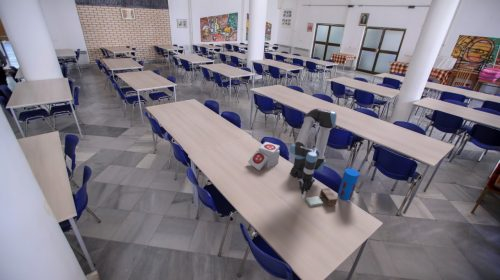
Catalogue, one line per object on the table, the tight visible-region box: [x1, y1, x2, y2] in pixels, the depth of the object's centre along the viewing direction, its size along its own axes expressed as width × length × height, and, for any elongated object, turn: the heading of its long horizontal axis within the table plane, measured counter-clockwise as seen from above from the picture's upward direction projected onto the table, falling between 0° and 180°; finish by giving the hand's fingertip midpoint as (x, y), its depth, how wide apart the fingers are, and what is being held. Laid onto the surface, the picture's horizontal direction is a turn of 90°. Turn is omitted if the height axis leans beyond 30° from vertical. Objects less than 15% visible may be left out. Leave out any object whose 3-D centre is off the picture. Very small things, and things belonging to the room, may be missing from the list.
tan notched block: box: [319, 187, 338, 207], centre depth 192 cm, size 13×7×7 cm, turn 14°
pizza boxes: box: [247, 141, 281, 171], centre depth 231 cm, size 19×30×18 cm, turn 130°
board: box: [305, 195, 324, 207], centre depth 190 cm, size 8×11×2 cm
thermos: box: [337, 167, 360, 202], centre depth 193 cm, size 11×11×25 cm
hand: (302, 197), depth 185 cm, fingers closed
